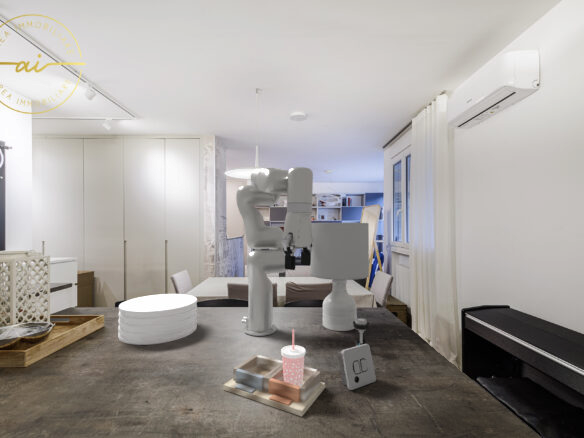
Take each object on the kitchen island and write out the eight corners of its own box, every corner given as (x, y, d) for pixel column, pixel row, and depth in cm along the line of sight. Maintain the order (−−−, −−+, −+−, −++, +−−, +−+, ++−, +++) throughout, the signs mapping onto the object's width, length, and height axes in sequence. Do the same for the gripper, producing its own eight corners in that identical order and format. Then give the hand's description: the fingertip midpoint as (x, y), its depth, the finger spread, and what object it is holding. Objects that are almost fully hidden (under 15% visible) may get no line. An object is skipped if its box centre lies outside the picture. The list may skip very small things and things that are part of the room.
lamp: (360, 316, 135) (359, 223, 136) (377, 335, 111) (376, 222, 112) (307, 316, 134) (307, 223, 135) (313, 336, 110) (313, 222, 111)
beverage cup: (289, 378, 77) (290, 323, 77) (310, 385, 74) (310, 328, 74) (275, 388, 72) (276, 330, 72) (296, 396, 69) (297, 335, 69)
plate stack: (206, 334, 112) (206, 304, 113) (121, 351, 97) (122, 316, 97) (186, 316, 135) (186, 291, 136) (115, 327, 120) (116, 299, 120)
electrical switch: (349, 392, 73) (347, 352, 74) (336, 384, 77) (334, 347, 78) (376, 382, 78) (374, 345, 79) (362, 375, 82) (360, 340, 83)
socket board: (223, 389, 74) (223, 372, 74) (253, 367, 85) (254, 353, 85) (302, 416, 63) (302, 396, 63) (325, 387, 75) (325, 370, 75)
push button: (370, 356, 93) (369, 324, 93) (352, 354, 94) (352, 323, 95) (369, 347, 100) (369, 318, 100) (353, 346, 101) (353, 316, 101)
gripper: (301, 210, 97) (300, 262, 97) (272, 208, 82) (271, 270, 82) (322, 210, 93) (321, 264, 94) (296, 208, 78) (294, 273, 79)
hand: (298, 267), depth 88 cm, fingers open, 9 cm apart
